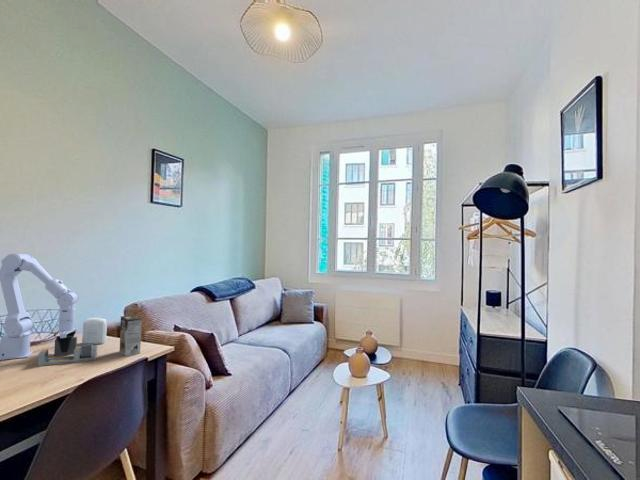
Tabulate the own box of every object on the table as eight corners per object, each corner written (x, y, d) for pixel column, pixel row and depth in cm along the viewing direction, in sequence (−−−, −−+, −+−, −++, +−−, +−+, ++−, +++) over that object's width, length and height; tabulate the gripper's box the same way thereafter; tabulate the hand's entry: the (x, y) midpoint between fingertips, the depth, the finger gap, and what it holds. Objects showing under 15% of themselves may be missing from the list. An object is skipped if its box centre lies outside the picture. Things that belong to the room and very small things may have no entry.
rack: (37, 366, 132) (38, 351, 132) (41, 361, 136) (42, 347, 137) (95, 360, 140) (95, 345, 141) (96, 356, 145) (97, 342, 145)
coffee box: (118, 351, 152) (120, 316, 153) (134, 348, 157) (135, 314, 157) (124, 356, 146) (126, 319, 146) (140, 353, 151) (142, 317, 151)
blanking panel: (54, 356, 144) (54, 339, 144) (55, 354, 146) (56, 338, 146) (75, 353, 147) (76, 338, 148) (76, 352, 150) (77, 336, 150)
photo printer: (107, 341, 166) (108, 317, 166) (103, 344, 162) (104, 318, 162) (85, 341, 165) (86, 317, 165) (80, 344, 161) (81, 318, 161)
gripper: (75, 322, 143) (73, 354, 142) (80, 315, 155) (79, 344, 155) (54, 323, 139) (53, 356, 139) (62, 316, 152) (60, 346, 152)
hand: (65, 350), depth 147 cm, fingers open, 5 cm apart
